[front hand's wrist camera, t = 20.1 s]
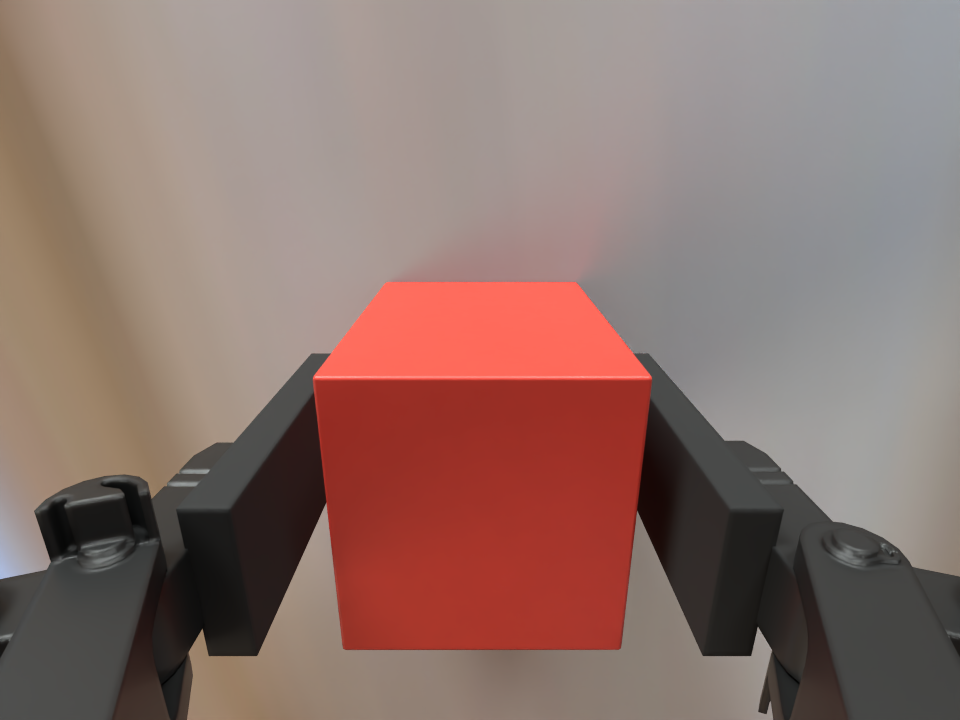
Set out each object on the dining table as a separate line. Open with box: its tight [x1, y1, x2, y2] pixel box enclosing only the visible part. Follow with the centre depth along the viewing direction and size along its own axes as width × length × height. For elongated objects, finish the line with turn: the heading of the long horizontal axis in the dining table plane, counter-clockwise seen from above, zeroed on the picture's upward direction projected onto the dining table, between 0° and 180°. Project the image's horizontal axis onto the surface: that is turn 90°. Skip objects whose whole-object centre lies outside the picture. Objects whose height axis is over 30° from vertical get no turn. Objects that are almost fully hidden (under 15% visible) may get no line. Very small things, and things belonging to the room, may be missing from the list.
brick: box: [313, 282, 652, 650], centre depth 13 cm, size 6×5×7 cm
